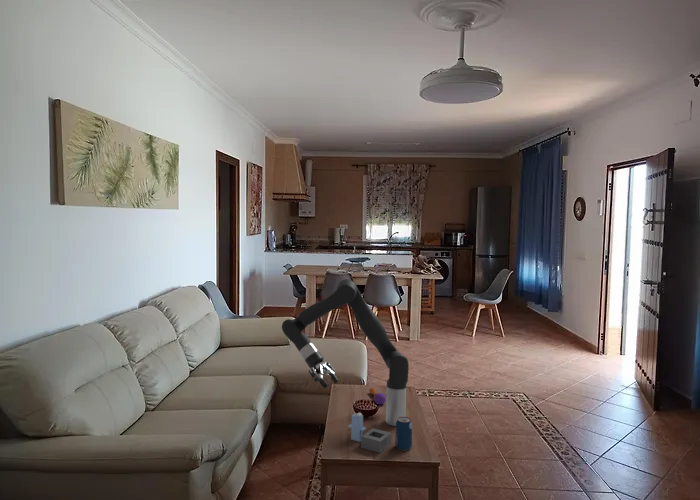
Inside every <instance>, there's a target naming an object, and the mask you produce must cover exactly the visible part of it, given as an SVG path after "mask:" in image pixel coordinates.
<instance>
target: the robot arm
mask: <svg viewBox="0 0 700 500" xmlns="http://www.w3.org/2000/svg"><path fill="white" fill-rule="evenodd" d="M363 297H364V296H362V293H361V292H360V290H359V288H358V286H357V285H356V283H355V282H354V281H353V280H351V279H347V278H343V279H342V280H340V282H338V284H337V286H336V290H335V291H334V292H333V293H332V294H331V295H329V296H328V297H327V298H325V299H323V300H321V301H317V302H316V303H313V304H311V305H309V306H308V307H306V308H305V309H304V310H301V312H299V314H298V315H297V317H295V318H293V319H291V318H288V319H285V320H284V321H283V322H282V324H281V330H282V332H283V334H284V335H285V337H287V339H289V340H290V342H292V343H293V345H294V346H295V347H296V349H297V351H298V352H299V353H300V356H301V357H302V359H303V360H304V361H305V363H306V364H307V366H308V368H309V370H308V374H310V376H311V378H312V379H313V381H314V382H316V383H317V382H318V383H319V384H320V385H321V387H322V388H323V389H327V387H328V386H329V384H328V383H327V382H326V380H325V379H324V377H323V375H325V376H328V377H330V379H331V380H332V382H333V383H334V384H337V383H338V382H339V379H338V376H336V374H335V373H336V371H337V370H336V369H335V367H334V366H333V365H332V363H331V362H330V361H327V362H324V356H323V355H322V354H321V352H320V351H319V349H318V348H317V346H315V345H314V344H313V342H312V341H311V339H310V338H309V336H308V335H307V334H305V333H304V332H303V331H304V330H305V329H306V328H307V327H308V326H309V325H311V324H313V323H314V322H316V321H317V320H319V319H320V318H321V317H324V316H325V315H327V314H328V313H330V312H332V311H334V310H336V309H338V308H340V307H342V306H344V305H347V304H348V306H349V307H350V308H351V310H352V313H353V314H354V317H355V319H356V321H357V324H358V326H359V328H360V329H361V331H362V333H364V335H365V336H366V338H367V339H368V340H369V341H370V343H371V344H372V345H373V346H374V348H376V349H377V351H378V353H379V354H380V356H381V357H382V360H383V362H384V364H385V365H386V367H387V368H388V370H389V372H388V373H389V374H388V379H387V380H386V393H385V394H386V395H385V397H386V401H385V403H386V405H385V423H386V424H387V425H388V426H392V427H396V421H397V419H398V418H399V417H406V413H407V411H406V409H407V406H406V405H407V403H406V402H407V383H408V380H409V364H410V363H409V360H408V358H407V357H406V356H405V355H404V354H402V353H401V352H400V351H399V350H398V348H396V347H395V345H394V344H393V343H392V342H391V340H390V337H389V336H388V334H387V331H386V328H385V326H384V325H383V324H382V321H381V320H380V319H379V318H378V316H377V315H376V313H374V311H373V310H372V308H371V307H370V306H369V304H368V303H367V302H366V301H365V298H363Z"/></svg>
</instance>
